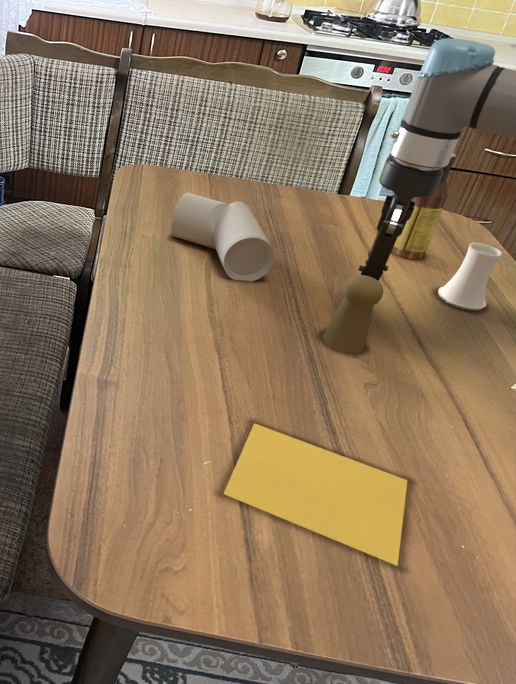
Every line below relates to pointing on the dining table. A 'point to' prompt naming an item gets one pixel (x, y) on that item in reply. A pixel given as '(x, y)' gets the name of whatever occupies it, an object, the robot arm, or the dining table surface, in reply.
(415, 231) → the sauce bottle
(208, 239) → the bent grey cylinder
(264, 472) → the yellow cloth
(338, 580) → the dining table surface
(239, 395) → the dining table surface
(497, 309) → the dining table surface
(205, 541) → the dining table surface
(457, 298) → the vase
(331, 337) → the cork
